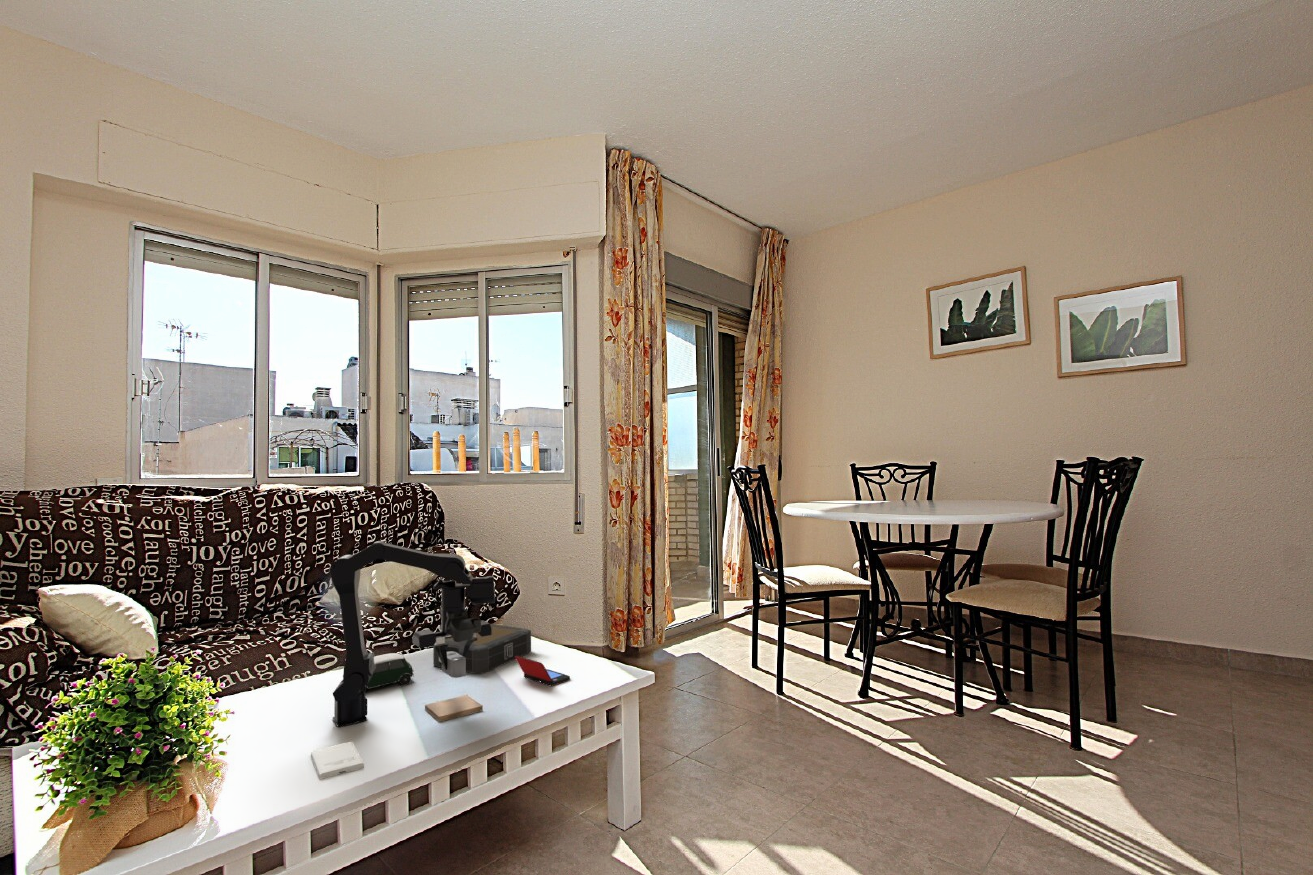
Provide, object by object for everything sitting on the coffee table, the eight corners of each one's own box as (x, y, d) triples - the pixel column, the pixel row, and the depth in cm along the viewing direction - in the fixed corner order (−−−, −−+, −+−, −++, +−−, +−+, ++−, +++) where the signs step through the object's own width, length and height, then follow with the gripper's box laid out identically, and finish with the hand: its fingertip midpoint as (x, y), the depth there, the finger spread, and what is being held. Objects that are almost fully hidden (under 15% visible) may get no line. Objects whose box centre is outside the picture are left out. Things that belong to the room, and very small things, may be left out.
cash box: (482, 675, 192) (482, 649, 192) (431, 667, 201) (430, 641, 201) (534, 652, 214) (534, 629, 214) (486, 645, 223) (486, 622, 223)
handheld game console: (571, 680, 187) (571, 654, 187) (541, 690, 179) (541, 663, 179) (543, 671, 195) (543, 646, 195) (513, 681, 187) (513, 654, 187)
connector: (453, 678, 160) (453, 662, 160) (436, 666, 170) (436, 651, 170) (467, 675, 163) (467, 659, 163) (449, 663, 172) (449, 648, 172)
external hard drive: (352, 748, 145) (364, 769, 135) (310, 758, 140) (319, 781, 130) (352, 740, 145) (364, 761, 135) (310, 750, 140) (319, 773, 130)
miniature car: (339, 689, 182) (339, 660, 182) (405, 675, 193) (405, 647, 194) (349, 698, 175) (349, 667, 175) (416, 682, 186) (416, 654, 187)
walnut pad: (439, 721, 158) (439, 716, 158) (425, 709, 166) (425, 704, 166) (482, 710, 164) (482, 705, 164) (467, 699, 172) (467, 694, 172)
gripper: (427, 617, 154) (427, 684, 153) (501, 605, 165) (501, 668, 165) (411, 608, 163) (411, 672, 162) (483, 598, 174) (483, 657, 173)
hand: (453, 667), depth 165 cm, fingers closed on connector, 4 cm apart
